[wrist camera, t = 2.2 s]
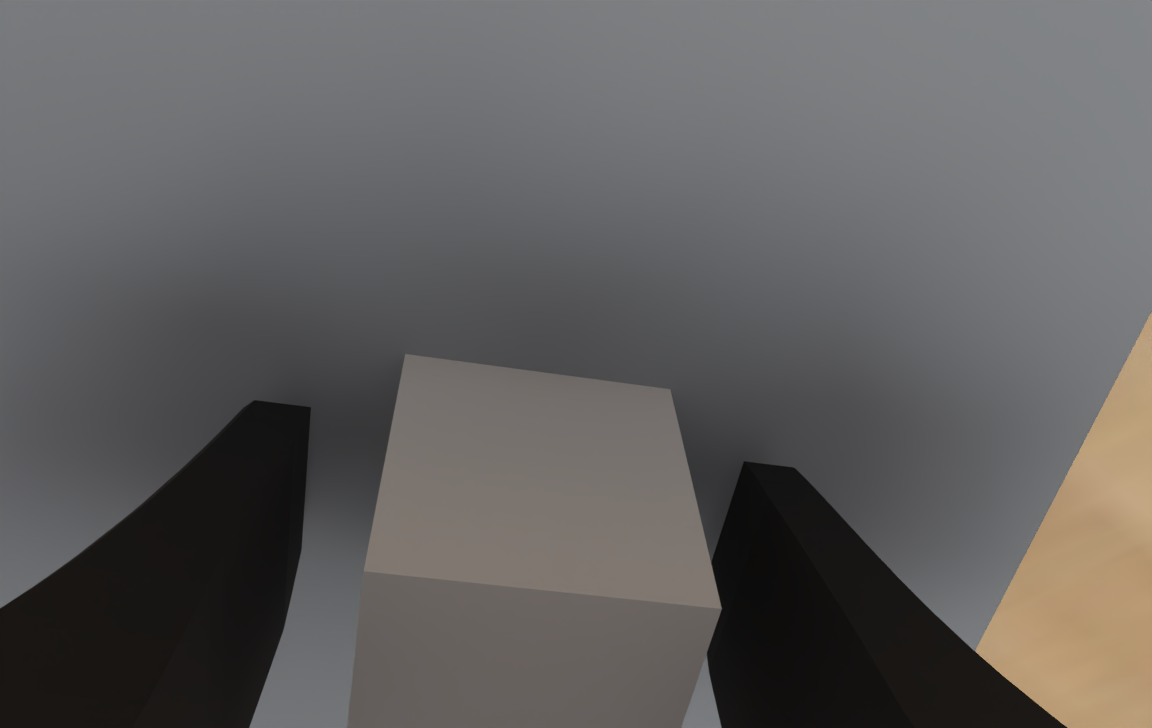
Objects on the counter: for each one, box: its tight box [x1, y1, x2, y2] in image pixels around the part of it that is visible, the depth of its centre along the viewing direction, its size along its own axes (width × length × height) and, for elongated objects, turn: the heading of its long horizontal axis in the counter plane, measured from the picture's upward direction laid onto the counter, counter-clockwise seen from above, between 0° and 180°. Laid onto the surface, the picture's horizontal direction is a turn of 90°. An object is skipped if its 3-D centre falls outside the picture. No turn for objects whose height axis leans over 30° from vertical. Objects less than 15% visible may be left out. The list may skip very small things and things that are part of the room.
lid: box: [0, 0, 1152, 728], centre depth 11 cm, size 13×13×4 cm
